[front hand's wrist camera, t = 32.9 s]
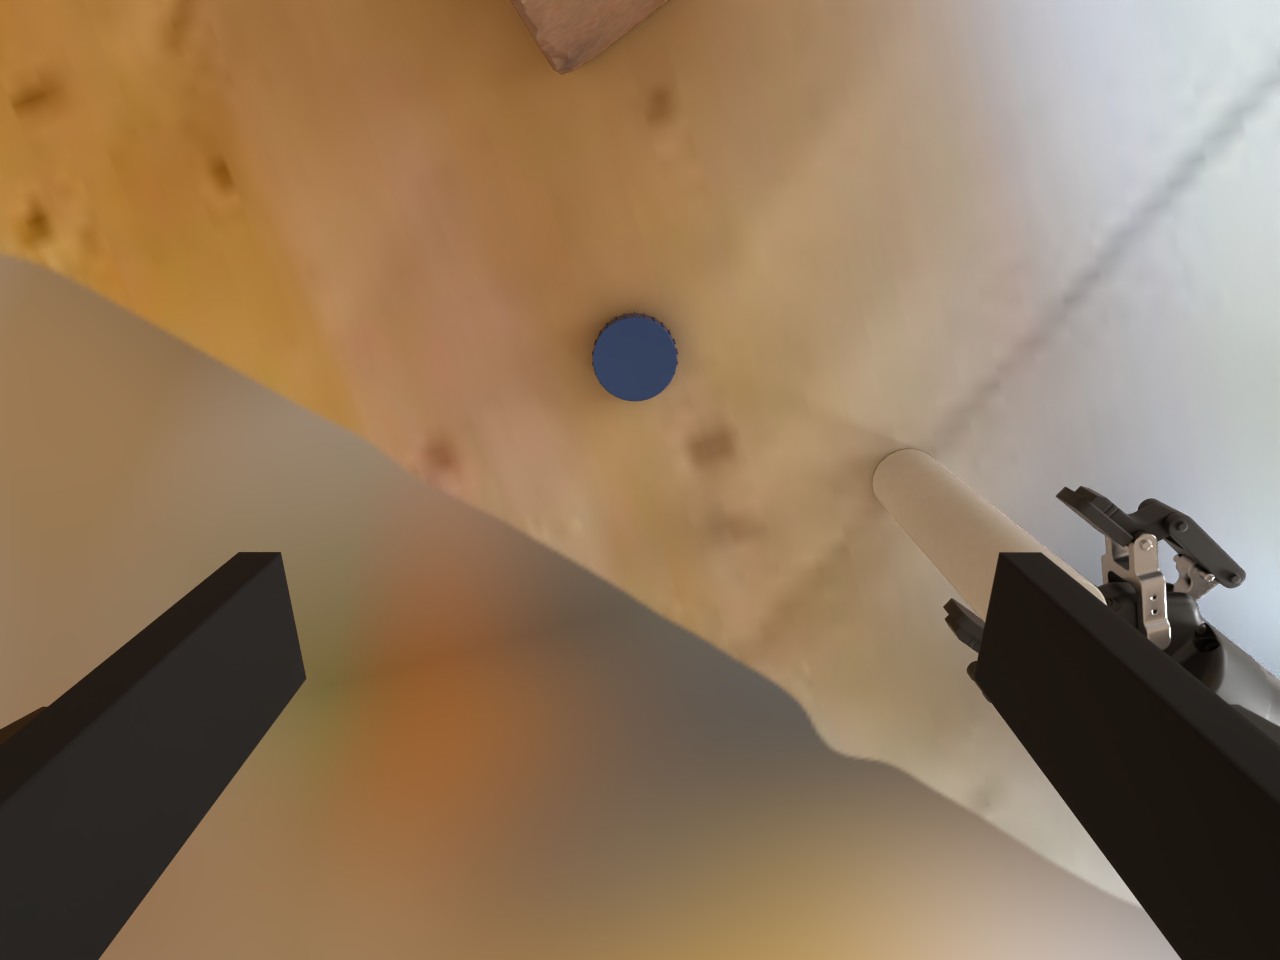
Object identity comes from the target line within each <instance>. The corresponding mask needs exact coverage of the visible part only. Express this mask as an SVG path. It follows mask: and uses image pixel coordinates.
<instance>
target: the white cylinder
mask: <svg viewBox="0 0 1280 960" xmlns="http://www.w3.org/2000/svg"><path fill="white" fill-rule="evenodd" d="M872 486H873V491H874V494H875V496H876V498H877V500H878V501H879V502H880V503H881V504H882V505H883V507H884V508H885V509H886V510H887V511H888V512H889V513H890V515H891V516H892V517H893V518H894V519H895V520H896V521H897V523H898V524H899V525H900V526H901V527H902V528H903V529H904V531H905V532H906V533H907V534H908V535H909V536H910V537H911V539H912V540H913V541H914V542H915V543H916V544H917V545H918V547H919V548H920V549H921V550H922V551H923V552H924V553H925V555H926V556H927V557H928V558H929V559H930V560H931V562H932V563H933V564H934V565H935V566H936V567H937V568H938V570H939V571H940V572H941V573H942V574H943V575H944V576H945V578H946V579H947V580H948V581H949V582H950V583H951V584H952V586H953V587H954V588H955V589H956V590H957V591H958V592H959V594H960V595H961V596H962V597H963V598H964V599H965V600H966V602H967V603H968V604H969V605H970V606H971V607H972V608H973V610H974V611H975V612H976V613H977V614H978V615H979V616H980V618H981V619H982V620H983V621H984V622H985V620H986V615H987V610H988V605H989V600H990V595H991V590H992V585H993V580H994V576H995V571H996V566H997V561H998V556H999V552H1041V553H1043V554H1044V555H1045V556H1046V557H1048V558H1049V559H1050V560H1051V561H1053V562H1054V563H1055V564H1056V565H1057V566H1059V567H1060V568H1061V569H1062V570H1064V571H1065V572H1066V573H1067V574H1069V575H1070V576H1071V577H1072V578H1074V579H1075V580H1076V581H1077V582H1079V583H1080V584H1081V585H1082V586H1083V587H1085V588H1086V589H1087V590H1088V591H1090V592H1091V593H1092V594H1093V595H1095V596H1096V597H1097V598H1098V599H1100V600H1101V601H1102V602H1103V603H1104V604H1106V601H1105V598H1104V596H1103V595H1102V593H1101V592H1100V591H1099V590H1098V588H1096V587H1095V586H1094V585H1093V584H1092V583H1090V582H1089V581H1088V580H1087V579H1085V578H1084V577H1083V576H1081V575H1080V574H1079V573H1078V572H1076V571H1075V570H1074V569H1073V568H1071V567H1070V566H1069V565H1067V564H1066V563H1065V562H1064V561H1062V560H1061V559H1060V558H1059V557H1057V556H1056V555H1055V554H1054V553H1052V552H1051V551H1050V550H1048V549H1047V548H1046V547H1045V546H1043V545H1042V544H1041V543H1040V542H1038V541H1037V540H1036V539H1034V538H1033V537H1032V536H1031V535H1029V534H1028V533H1027V532H1026V531H1024V530H1023V529H1022V528H1021V527H1019V526H1018V525H1017V524H1015V523H1014V522H1013V521H1012V520H1010V519H1009V518H1008V517H1007V516H1005V515H1004V514H1003V513H1002V512H1000V511H999V510H998V509H996V508H995V507H994V506H993V505H991V504H990V503H989V502H988V501H986V500H985V499H984V498H982V497H981V496H980V495H979V494H977V493H976V492H975V491H974V490H972V489H971V488H970V487H969V486H967V485H966V484H965V483H963V482H962V481H961V480H960V479H958V478H957V477H956V476H955V475H953V474H952V473H951V472H949V471H948V470H947V469H946V468H944V467H943V466H942V465H941V464H939V463H938V462H937V461H936V460H934V459H933V458H932V457H930V456H929V455H928V454H926V453H925V452H922V451H920V450H916V449H904V450H899V451H897V452H894V453H892V454H890V455H889V456H887V457H886V458H885V459H884V460H883V461H882V462H881V463H880V464H879V465H878V467H877V469H876V470H875V473H874V476H873V481H872ZM1106 605H1107V604H1106Z"/></svg>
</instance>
